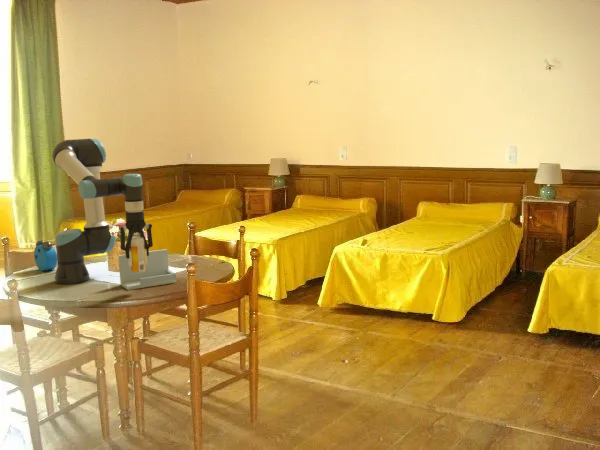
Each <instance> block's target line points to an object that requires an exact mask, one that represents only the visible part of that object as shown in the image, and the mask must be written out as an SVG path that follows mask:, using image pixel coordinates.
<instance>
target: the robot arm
mask: <svg viewBox="0 0 600 450" xmlns="http://www.w3.org/2000/svg"><path fill="white" fill-rule="evenodd" d="M51 157H52V161H53V164H55V166H57V168H59V169H60V170H63V171H64V172H65V173H66V174H67V175H68V176H69V177H70V178H71V179H72V180H73V182H74V183H76V184H77V185H78V187H77V190H78V194H79V197H80V198H82V199H83V205H84V214H85V225H84V226H83V230H82V229H81V228H70V229H66V230H63V231H60V232H58V233H57V234H56V235H55V236H54V237H55V243H54V244H55V251H56V254H57V265H56V272H55V275H54V283H55V284H58V285H72V284H73V285H74V284H78V283H83V282H87V281H88V280H90V273H89V271H88V268H87V266H86V264H85V257H87V256H93V255H101V254H102V255H103V254H106V253H109V252H112V251H113V249H114V247H115V243H116V236H115V237H113V236H111V235H110V233H109V227H110V223H108V222H107V221H106V217H105V207H104V199H103V198H105V197H112V196H113V197H115V196H123V197H124V210H125V224H124V225H122V226H121V225H120V226H119V227H118V230H119V232H120V233H119V234H120V249H121V250H122V251H124V253H125V254H126V258H127V259H128V263H129V266H130V267H131V266H132V255H131V251H130V245H131V240H132V237H134V234H136V233H137V234H139V236H140V237H143V239H144V246H145V264H147V256H149V251H150V250H149V249H150V248H152V247H153V245H154V243H153V235H152V228H153V225H152V224H151V223H146V221H145V211H143V210H144V194H143V193H144V191H143V189H144V188H143V178H142V175H141V174H140V173H127V174H124V175H123V176H115V177H112V178H111V177H110V178H109V177H108V178H101V173H100V170H101V169H102V168H103V164H104V163H105V162H106V160H107V159H106V157H107V154H106V149H105V147H104V144H103V143H102V141H101V140H99V139H97V138H79V139H65V140H61V141H60V142H58V143H57V144H56V145H55V147H54V148H53V150H52V154H51ZM144 228H146V236H145V233H144ZM126 229H127V230H128V233H127V239H126V233H125V232H126ZM146 237H147V239H146Z"/></svg>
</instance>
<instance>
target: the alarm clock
mask: <svg viewBox="0 0 600 450" xmlns="http://www.w3.org/2000/svg"><path fill="white" fill-rule="evenodd" d="M33 259H34V262H35V265H36V267H37V268H38V270H39V271H41V272H46V271H50V270H53V271H55V268H57V266H58V263H57V253H56V247H54V246H53V243H52V242H50V241H47V240H42V239H39V240H37V241H36V243H35V247H34V250H33Z"/></svg>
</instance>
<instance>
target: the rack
mask: <svg viewBox="0 0 600 450" xmlns="http://www.w3.org/2000/svg"><path fill="white" fill-rule="evenodd" d="M168 253H169V252H168V249H167V248H164V249H157V250H155V249H154V250H149V256H147V264H146V270H145V272H143V273H133V272H132V271H131V267H130V266H129V263H128V259H127V258H126V253H125V254H120V255H119V254H118V268H119V280H120V281H119V283H120V286H121V287H123V288H124V289H126V290H127V291H130V290H137V289H141V288H150V287H156V286H160V285H161V286H162V285H167V284H168V285H169V284H173V283H177V273H175V272H173V271H171V270H169V269H170V268H169V256H168Z"/></svg>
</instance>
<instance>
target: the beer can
mask: <svg viewBox="0 0 600 450" xmlns="http://www.w3.org/2000/svg"><path fill="white" fill-rule="evenodd" d="M130 251H131V255H132V266H131V271H132V272H133V273H143V272H145V270H146V264H145V246H144V239H143V237H140V235H137V236H134V235H133V237H132V240H131V245H130Z"/></svg>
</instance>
